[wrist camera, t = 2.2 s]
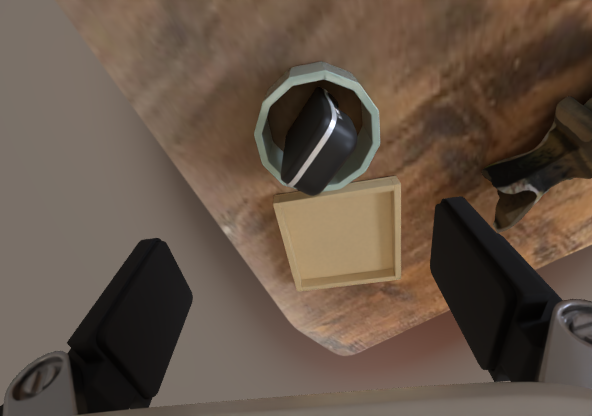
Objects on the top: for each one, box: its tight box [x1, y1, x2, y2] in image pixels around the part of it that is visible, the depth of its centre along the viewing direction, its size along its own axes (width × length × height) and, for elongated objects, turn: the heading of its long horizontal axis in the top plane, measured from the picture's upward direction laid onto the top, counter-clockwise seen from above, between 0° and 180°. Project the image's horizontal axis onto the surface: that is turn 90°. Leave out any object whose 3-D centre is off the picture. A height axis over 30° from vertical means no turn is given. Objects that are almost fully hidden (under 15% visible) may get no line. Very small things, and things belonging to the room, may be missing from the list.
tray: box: [273, 176, 401, 292], centre depth 40 cm, size 15×16×2 cm
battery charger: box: [281, 87, 357, 196], centre depth 27 cm, size 7×4×11 cm, turn 148°
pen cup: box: [254, 61, 380, 192], centre depth 30 cm, size 11×11×6 cm
